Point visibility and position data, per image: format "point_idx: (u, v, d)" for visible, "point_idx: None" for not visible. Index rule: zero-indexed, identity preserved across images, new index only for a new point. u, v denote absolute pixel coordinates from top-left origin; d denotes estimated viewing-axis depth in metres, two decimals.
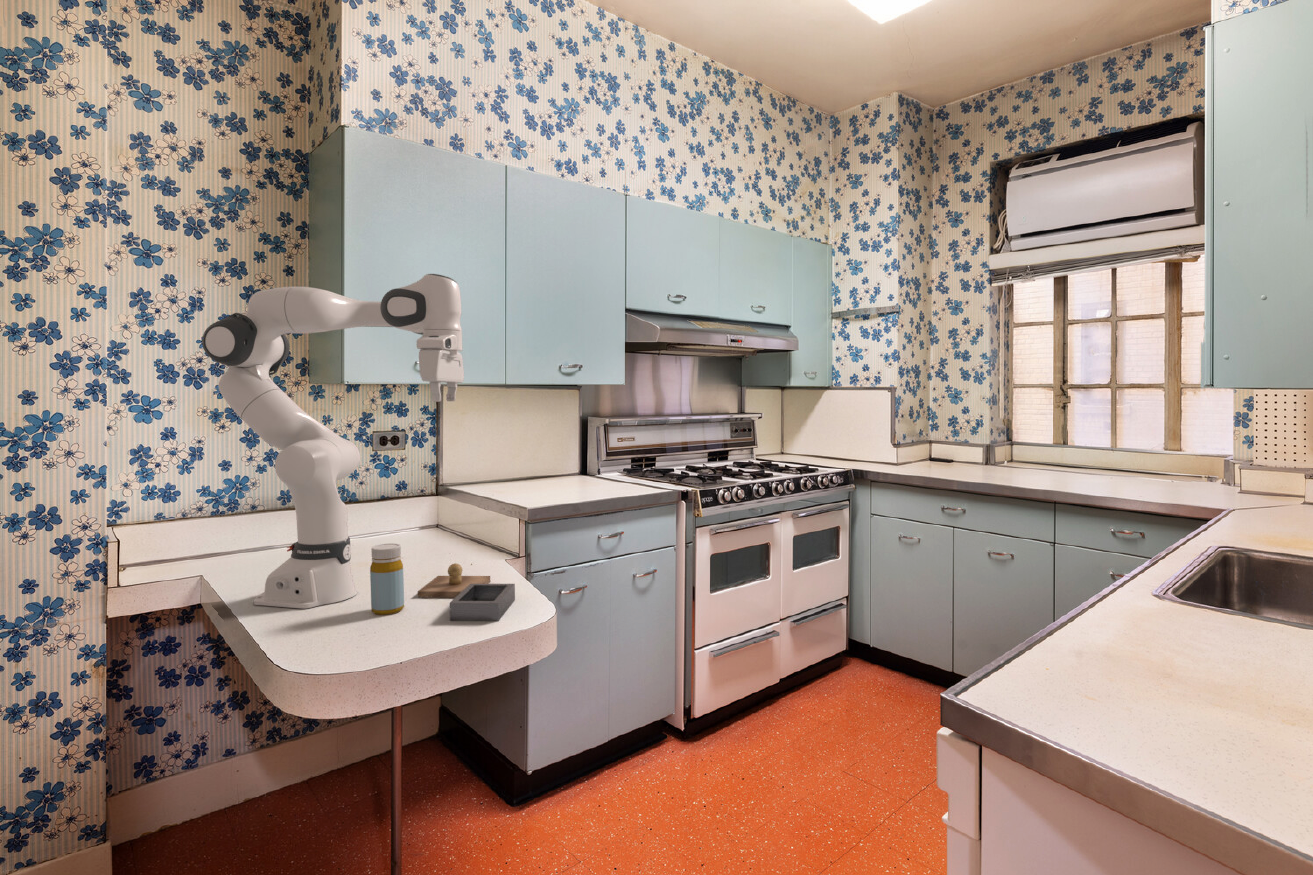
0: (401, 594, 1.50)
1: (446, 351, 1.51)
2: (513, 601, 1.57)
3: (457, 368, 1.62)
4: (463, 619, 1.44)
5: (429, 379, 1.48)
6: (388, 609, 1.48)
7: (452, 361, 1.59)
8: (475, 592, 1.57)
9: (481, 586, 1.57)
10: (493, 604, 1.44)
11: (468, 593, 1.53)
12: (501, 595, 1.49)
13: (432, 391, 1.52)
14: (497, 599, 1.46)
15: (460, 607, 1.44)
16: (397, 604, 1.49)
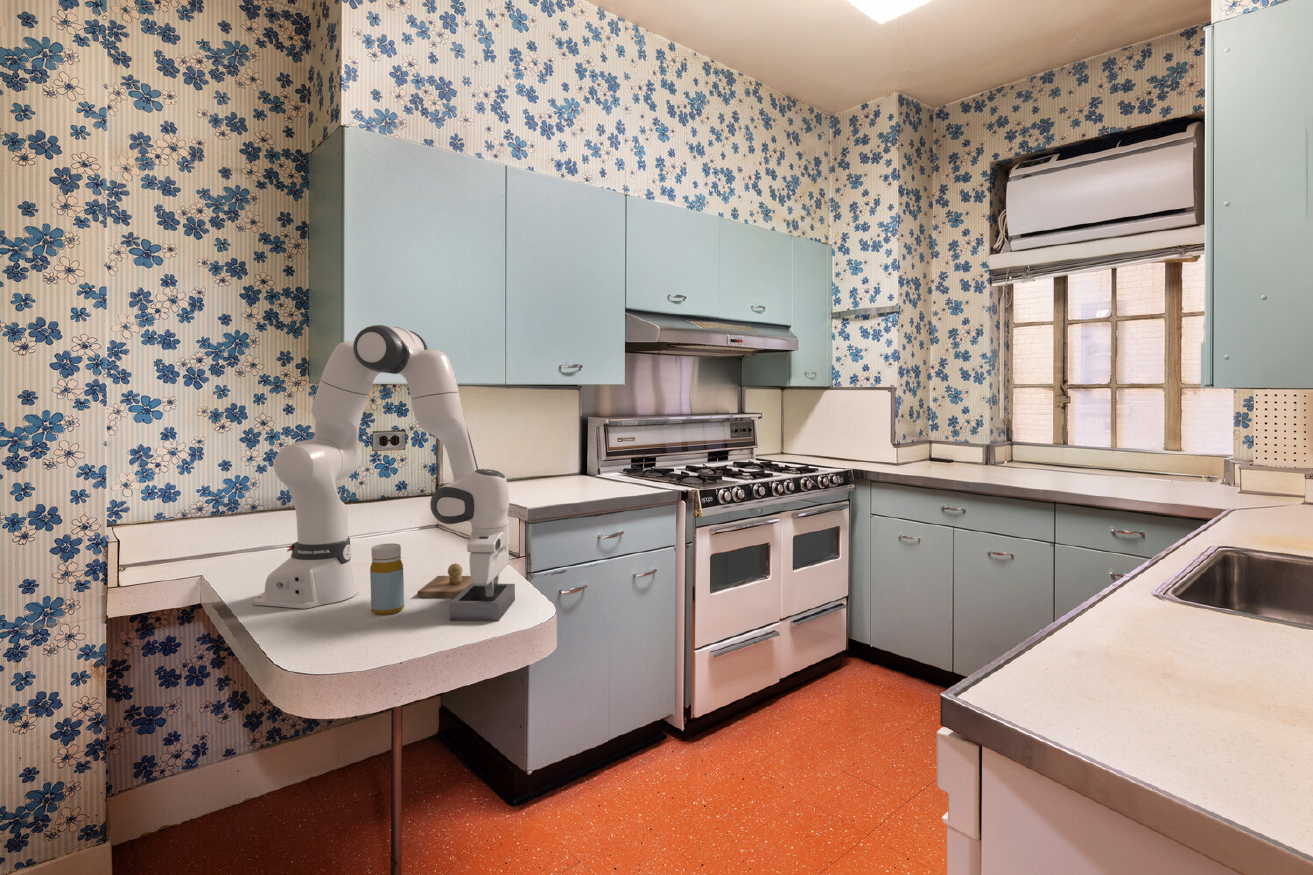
0: (401, 594, 1.50)
1: (496, 551, 1.52)
2: (513, 601, 1.57)
3: (503, 555, 1.62)
4: (463, 619, 1.44)
5: (480, 584, 1.48)
6: (388, 609, 1.48)
7: (499, 552, 1.59)
8: (475, 592, 1.57)
9: (481, 586, 1.57)
10: (493, 604, 1.44)
11: (468, 593, 1.53)
12: (501, 595, 1.49)
13: (486, 587, 1.55)
14: (497, 599, 1.46)
15: (460, 607, 1.44)
16: (397, 604, 1.49)
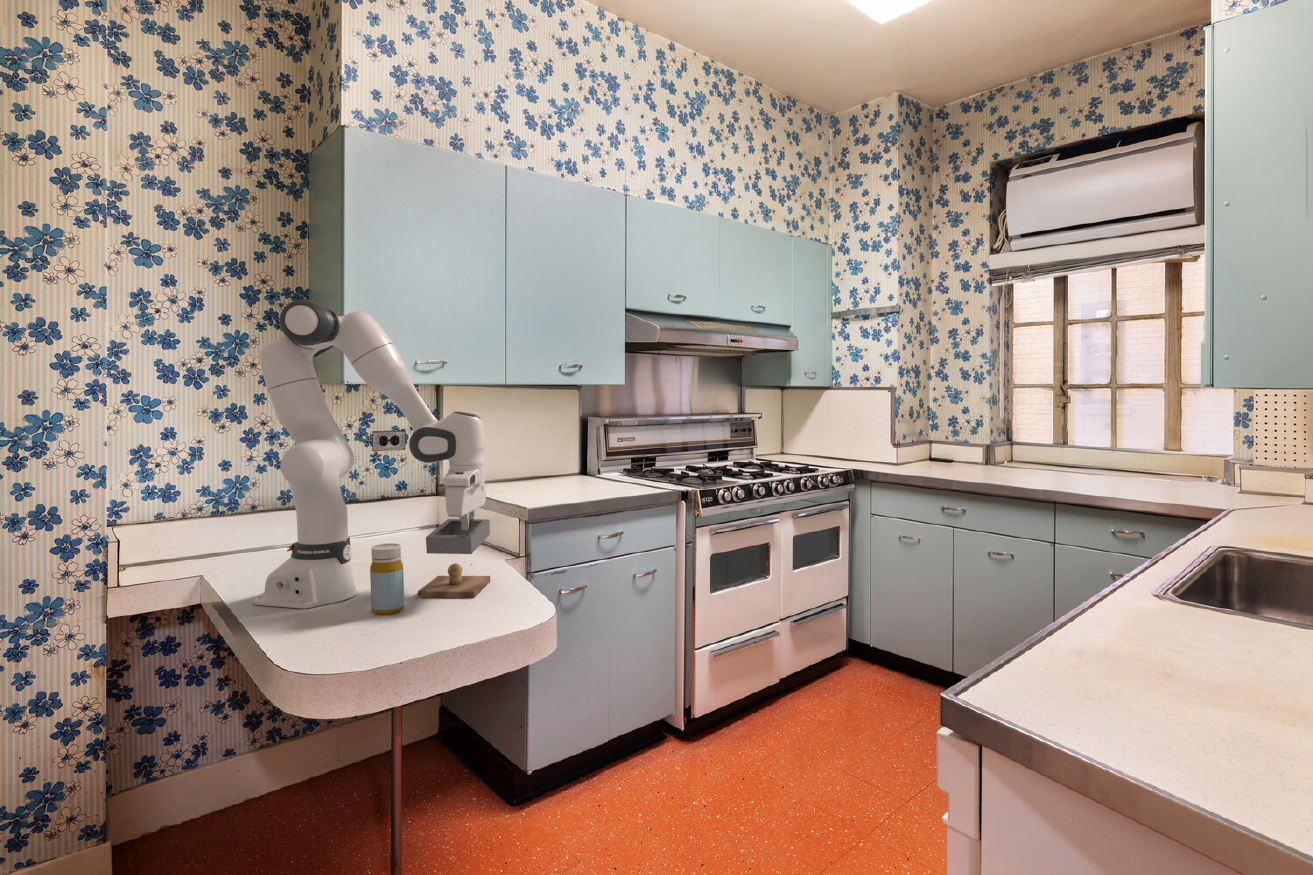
0: (401, 594, 1.50)
1: (470, 486, 1.63)
2: (488, 535, 1.68)
3: (480, 494, 1.73)
4: (439, 552, 1.56)
5: (455, 515, 1.59)
6: (388, 609, 1.48)
7: (475, 490, 1.70)
8: (452, 527, 1.69)
9: (458, 521, 1.68)
10: (466, 539, 1.55)
11: (445, 528, 1.64)
12: (474, 530, 1.60)
13: (461, 521, 1.66)
14: (470, 534, 1.57)
15: (436, 541, 1.55)
16: (397, 604, 1.49)
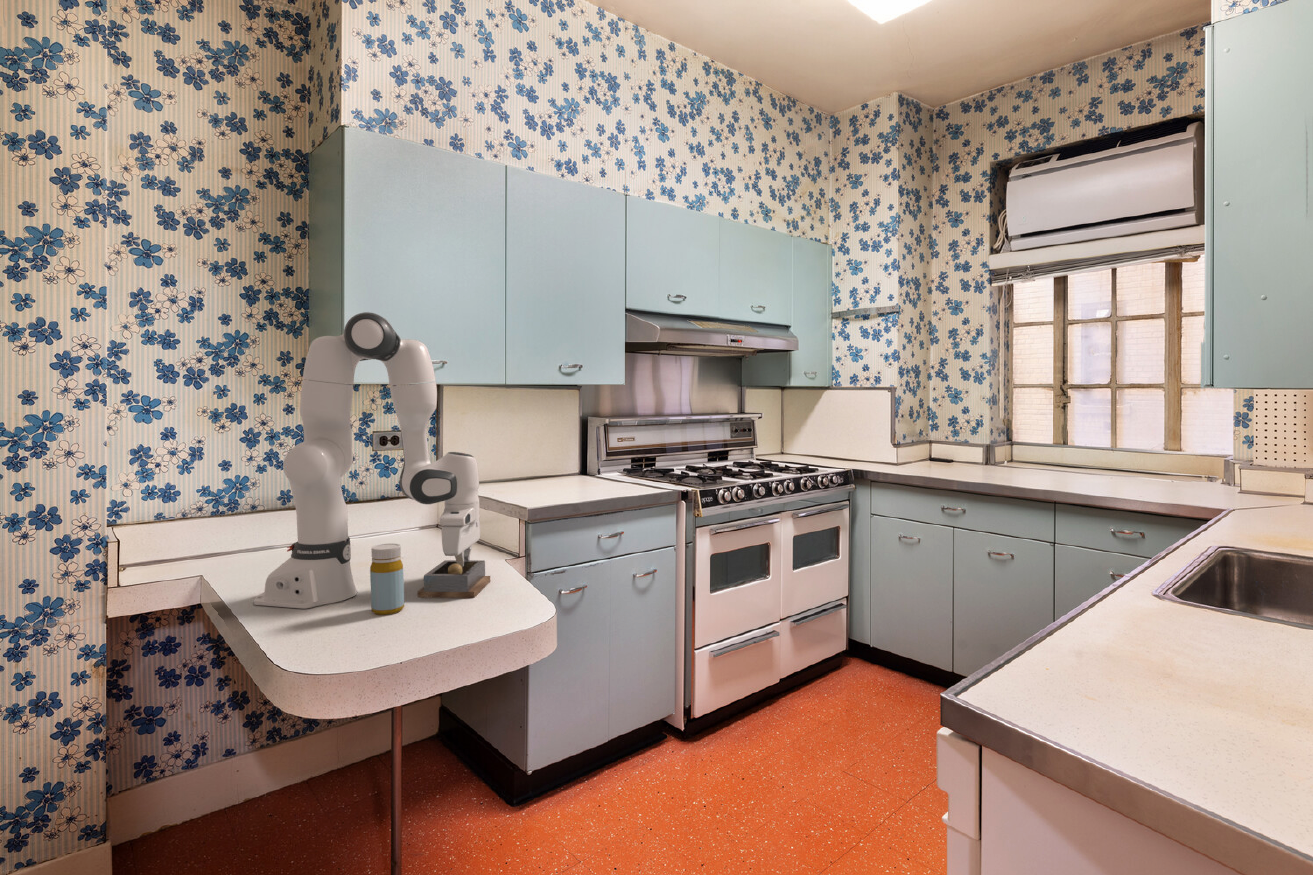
0: (401, 594, 1.50)
1: (466, 525, 1.68)
2: (483, 576, 1.74)
3: (474, 530, 1.78)
4: (436, 590, 1.60)
5: (451, 554, 1.64)
6: (388, 609, 1.48)
7: (470, 527, 1.75)
8: None
9: (454, 562, 1.74)
10: (463, 576, 1.60)
11: (442, 568, 1.69)
12: (470, 569, 1.66)
13: (456, 558, 1.71)
14: (467, 572, 1.63)
15: (433, 579, 1.60)
16: (397, 604, 1.49)
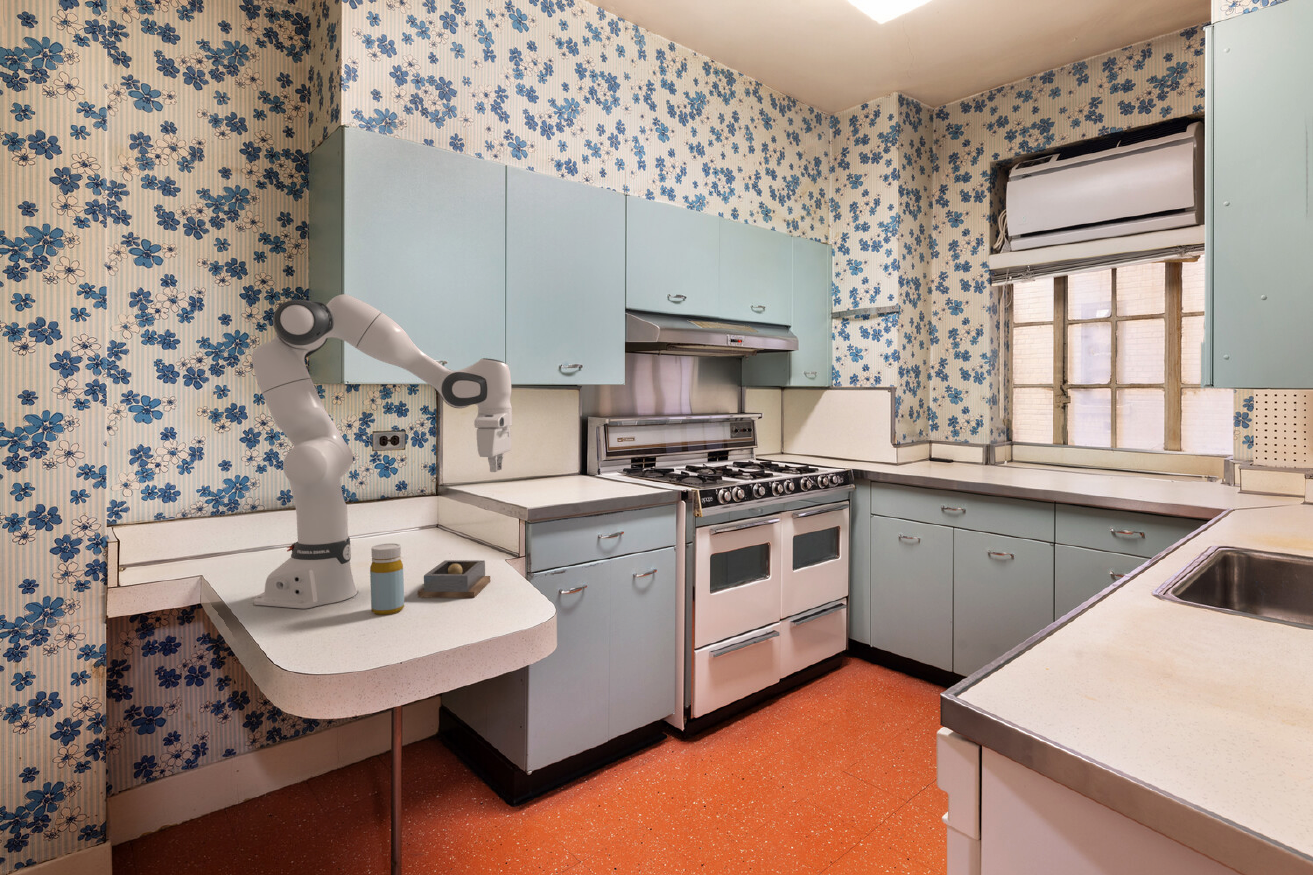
0: (401, 594, 1.50)
1: (500, 429, 1.70)
2: (483, 576, 1.74)
3: (506, 439, 1.81)
4: (436, 590, 1.60)
5: (486, 455, 1.66)
6: (388, 609, 1.48)
7: (503, 434, 1.78)
8: None
9: (454, 562, 1.74)
10: (463, 576, 1.60)
11: (442, 568, 1.69)
12: (470, 569, 1.66)
13: (490, 463, 1.73)
14: (467, 572, 1.63)
15: (433, 579, 1.60)
16: (397, 604, 1.49)
